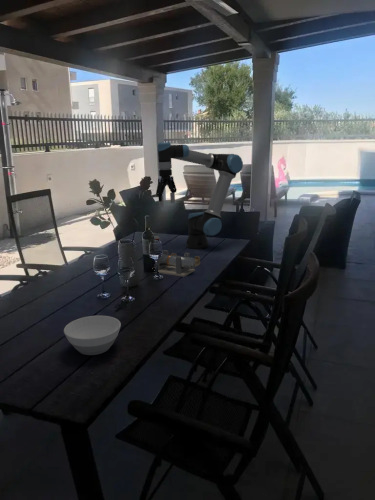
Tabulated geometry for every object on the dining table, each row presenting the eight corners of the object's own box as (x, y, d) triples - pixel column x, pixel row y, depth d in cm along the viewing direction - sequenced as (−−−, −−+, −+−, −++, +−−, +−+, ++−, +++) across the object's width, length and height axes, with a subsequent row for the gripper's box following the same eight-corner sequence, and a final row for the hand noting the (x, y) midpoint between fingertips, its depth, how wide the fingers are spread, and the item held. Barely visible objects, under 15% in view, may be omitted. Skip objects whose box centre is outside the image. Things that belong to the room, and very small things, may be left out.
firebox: (149, 271, 239) (149, 254, 237) (161, 265, 249) (161, 249, 247) (183, 276, 228) (183, 258, 226) (195, 270, 238) (194, 253, 236)
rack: (164, 264, 252) (164, 256, 251) (172, 260, 260) (172, 253, 259) (192, 268, 243) (192, 260, 242) (200, 264, 251) (200, 256, 250)
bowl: (133, 346, 153) (132, 324, 151) (87, 368, 139) (85, 344, 137) (99, 331, 165) (98, 311, 163) (54, 350, 151) (52, 328, 149)
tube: (155, 265, 240) (155, 254, 238) (161, 262, 245) (161, 252, 244) (189, 270, 229) (189, 259, 228) (195, 267, 234) (195, 256, 233)
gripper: (170, 167, 265) (172, 201, 271) (148, 171, 244) (150, 208, 250) (181, 167, 262) (182, 202, 267) (159, 171, 241) (161, 208, 246)
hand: (167, 205), depth 259 cm, fingers open, 13 cm apart
